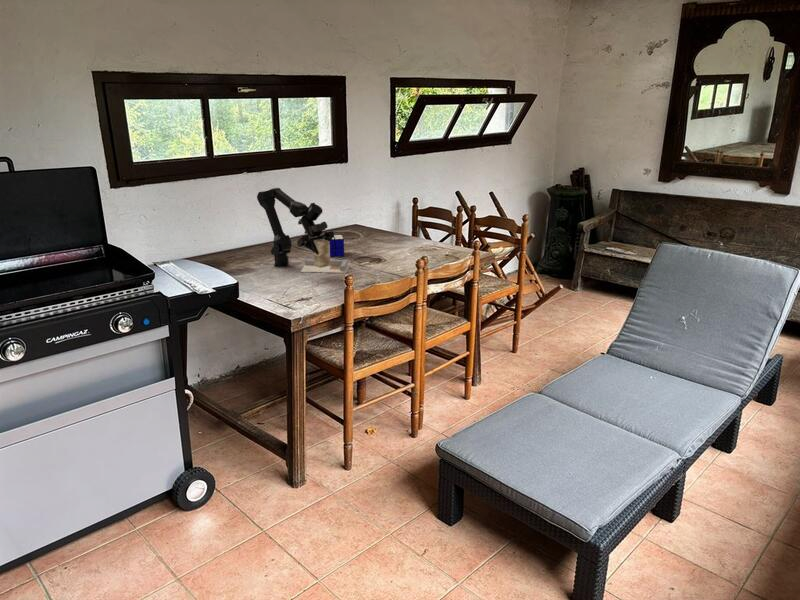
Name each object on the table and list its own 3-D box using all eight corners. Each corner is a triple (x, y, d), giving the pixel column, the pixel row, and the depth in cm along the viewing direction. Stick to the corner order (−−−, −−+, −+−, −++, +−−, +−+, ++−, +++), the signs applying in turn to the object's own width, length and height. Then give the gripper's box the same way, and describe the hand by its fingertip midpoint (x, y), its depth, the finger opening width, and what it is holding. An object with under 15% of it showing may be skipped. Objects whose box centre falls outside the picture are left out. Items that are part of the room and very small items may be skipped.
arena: (300, 272, 300) (300, 266, 299) (305, 265, 313) (305, 259, 312) (346, 273, 299) (346, 267, 298) (349, 265, 312) (349, 260, 311)
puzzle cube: (326, 257, 329) (325, 239, 326) (324, 253, 338) (324, 235, 335) (344, 256, 331) (344, 238, 328) (342, 252, 340) (342, 234, 337)
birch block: (320, 267, 288) (319, 243, 284) (314, 265, 291) (313, 241, 287) (330, 265, 291) (329, 241, 288) (324, 263, 295) (324, 239, 291)
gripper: (299, 219, 280) (313, 246, 276) (332, 214, 292) (346, 240, 288) (290, 232, 288) (304, 259, 284) (323, 227, 300) (336, 253, 296)
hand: (323, 252), depth 288 cm, fingers closed on birch block, 6 cm apart
